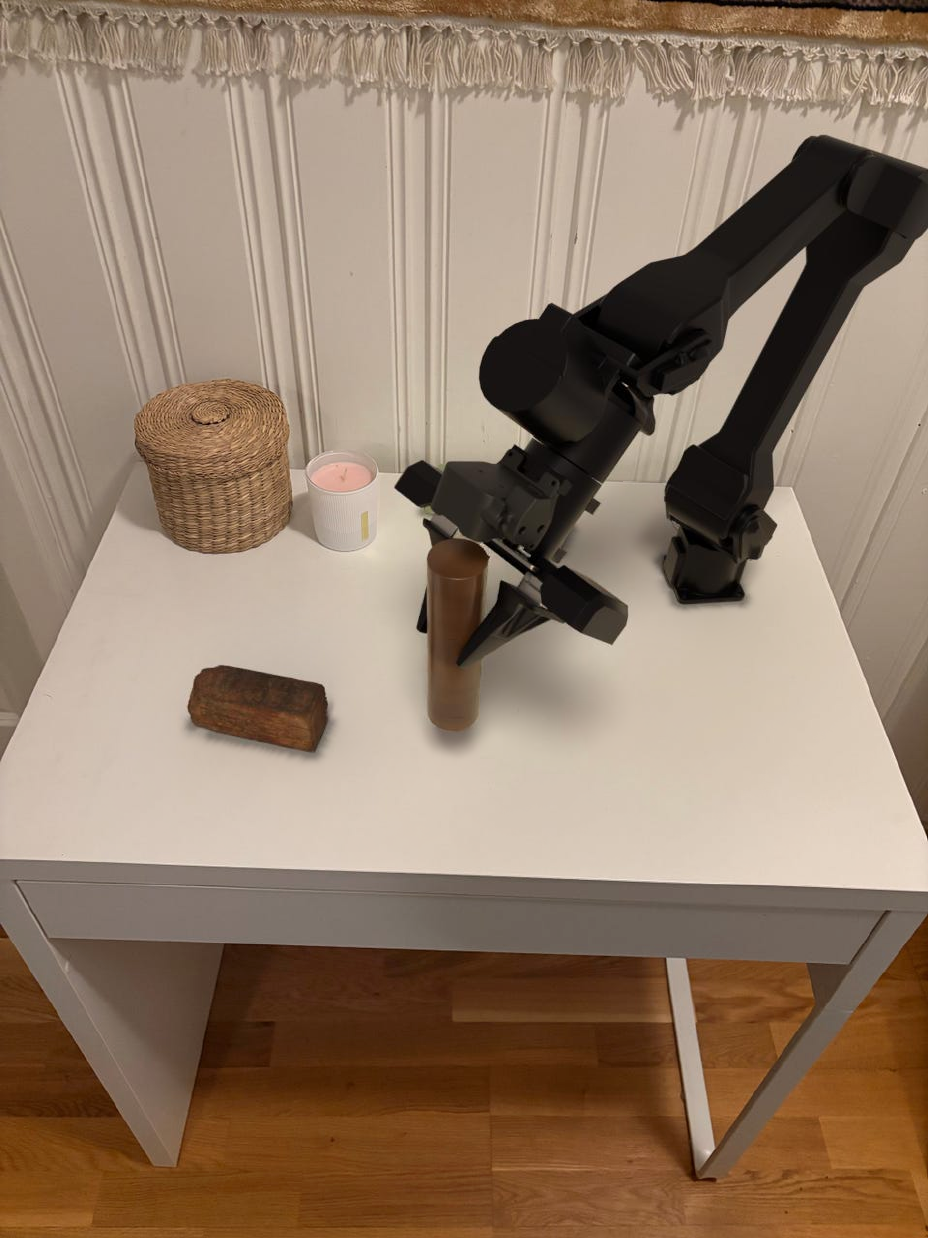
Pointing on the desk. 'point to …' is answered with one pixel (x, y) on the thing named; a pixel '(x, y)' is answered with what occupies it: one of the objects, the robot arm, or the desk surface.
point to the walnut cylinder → (454, 630)
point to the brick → (259, 706)
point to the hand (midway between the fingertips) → (440, 648)
